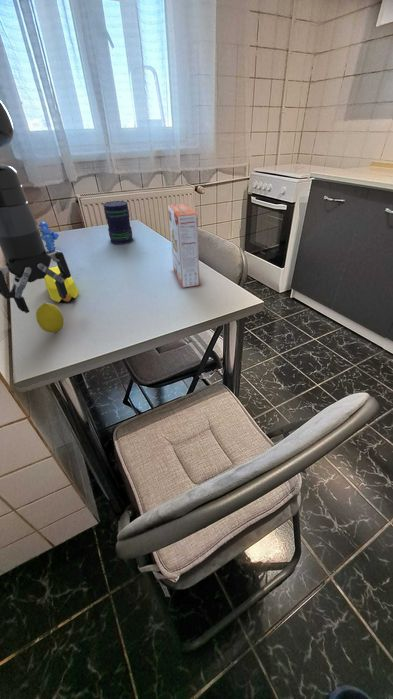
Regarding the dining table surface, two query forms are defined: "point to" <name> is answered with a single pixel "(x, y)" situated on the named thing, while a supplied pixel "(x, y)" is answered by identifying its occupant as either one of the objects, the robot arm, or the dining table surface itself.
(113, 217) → the storage jar
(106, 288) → the dining table surface
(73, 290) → the yellow faceted capsule
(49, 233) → the grapes
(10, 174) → the robot arm
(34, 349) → the dining table surface
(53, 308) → the lemon
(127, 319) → the dining table surface
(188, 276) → the cracker box
